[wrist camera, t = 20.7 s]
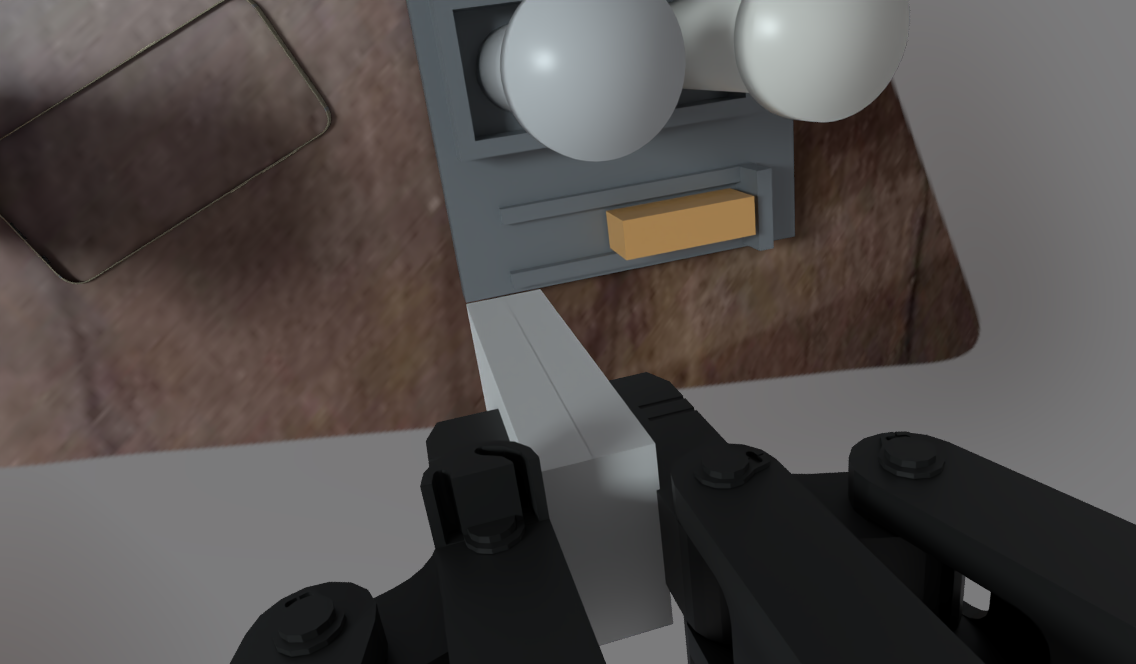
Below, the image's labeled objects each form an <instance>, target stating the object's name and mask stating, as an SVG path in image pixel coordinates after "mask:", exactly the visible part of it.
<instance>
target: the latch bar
mask: <svg viewBox="0 0 1136 664" xmlns="http://www.w3.org/2000/svg"><path fill="white" fill-rule="evenodd" d="M606 216H607V225H608V234H609V243H610V248H611V249H612V250H614V251H615V252H616V253H618V254H619V255H620V256H621V257H623V258H624V259H625V260H631V259H636V258H641V257H646V256H651V255H656V254H661V253H666V252H671V251H676V250H681V249H686V248H691V247H696V246H701V245H706V244H711V243H716V242H721V241H726V240H732V239H737V238H742V237H747V236H752V235H756V231H755V203H754V196H752V195H749V194H746V193H743V192H740V191H737V190H734V189H731V188H727V189H722V190H716V191H711V192H705V193H700V194H695V195H689V196H684V197H678V198H673V199H668V200H662V201H657V202H651V203H646V204H641V205H635V206H630V207H624V208H619V209H614V210H608V211H606Z"/></svg>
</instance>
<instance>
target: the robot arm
mask: <svg viewBox="0 0 1136 664" xmlns="http://www.w3.org/2000/svg"><path fill="white" fill-rule="evenodd" d="M466 306H467V311H468V316H469V321H470V326H471V331H472V337H473V342H474V347H475V352H476V357H477V362H478V368H479V373H480V378H481V383H482V388H483V393H484V398H485V404H486V409H487V411H485V412H481V413H477V414H472V415H468V416H464V417H459V418H455V419H451V420H446V421H442V422H438V423H436V425H435V427H434V428H433V430H432V432H431V433H430V435H429V437H428V438H427V440H426V446H427V453H428V460H429V468H428V469H427V470H426V471H425V472H424V473H423V477H422V481H421V486H420V487H421V492H422V496H423V500H424V504H425V508H426V512H427V516H428V520H429V525H430V528H431V533H432V537H433V541H434V545H435V550H434V553H433V555H432V556H431V558H430V559H429V560H428V562H427V563H426V564H425V565H424V567H423V568H422V569H420V570H419V571H418V572H417V573H416V574H414V575H413V576H412V577H411V578H410V579H408V580H406V581H405V582H403V583H401V584H400V585H398V586H396V587H395V588H393V589H391V590H389V591H387V592H385V593H384V594H381V595H379V596H377V597H375V598H373V597H372V596H371V594H370V592H369V591H368V590H367V589H365V588H363V587H360V586H358V585H356V584H354V583H351V582H350V583H349V582H348V583H347V582H327V583H323V584H319V585H314V586H310V587H306V588H304V589H302V590H299V591H298V592H296V593H293V594H291V595H289V596H287V597H285V598H283V599H281V600H280V601H278V602H277V603H276V604H274V605H273V606H272V607H271V608H269V609H268V610H267V611H265V612H264V613H263V614H262V615H260V616H259V618H258V619H257V620H256V622H255V623H254V624H253V625H252V627H251V628H250V629H249V631H248V632H247V633H246V635H245V636H244V638H243V640H242V642H241V644H240V646H239V647H238V649H237V651H236V653H235V655H234V657H233V659H232V661H231V662H230V664H606V662H605V660H604V657H603V654H602V652H601V650H600V647H599V646H601V645H604V644H607V643H611V642H614V641H617V640H620V639H623V638H627V637H631V636H634V635H637V634H641V633H644V632H647V631H651V630H654V629H657V628H661V627H664V626H668V625H671V624H673V617H672V607H671V597H670V592H671V594H672V595H673V597H674V599H675V601H676V602H677V604H678V606H679V608H680V610H681V611H682V613H683V615H684V624H685V635H686V645H687V657H688V664H1136V525H1135V524H1133V523H1131V522H1128V521H1126V520H1124V519H1122V518H1119V517H1117V516H1115V515H1113V514H1110V513H1108V512H1106V511H1103V510H1101V509H1099V508H1096V507H1094V506H1092V505H1090V504H1088V503H1085V502H1083V501H1081V500H1079V499H1076V498H1074V497H1072V496H1070V495H1067V494H1065V493H1063V492H1060V491H1058V490H1056V489H1054V488H1051V487H1049V486H1047V485H1044V484H1042V483H1040V482H1038V481H1036V480H1033V479H1031V478H1029V477H1026V476H1024V475H1022V474H1020V473H1017V472H1015V471H1012V470H1011V469H1008V468H1006V467H1004V466H1002V465H999V464H997V463H995V462H992V461H990V460H988V459H986V458H983V457H981V456H979V455H977V454H974V453H972V452H970V451H968V450H965V449H963V448H961V447H959V446H956V445H954V444H952V443H950V442H947V441H943V440H941V439H938V438H935V437H931V436H928V435H922V434H915V433H910V432H895V433H893V432H888V433H881V434H877V435H874V436H871V437H867V438H864V439H863V440H861V441H860V442H858V443H857V444H856V445H854V446H853V447H852V449H851V453H850V455H849V470H848V471H849V472H838V473H819V474H791V473H790V472H789V471H788V470H787V469H786V468H784V466H783V465H782V464H781V463H780V462H779V461H777V459H775V458H774V457H772V456H771V455H769V454H768V453H766V452H764V451H763V450H761V449H757V448H754V447H750V446H747V445H742V444H728V443H727V442H726V441H725V440H724V439H723V438H722V437H721V436H720V435H719V434H718V432H717V431H716V430H715V429H714V428H713V427H712V426H711V425H710V424H709V423H708V422H707V421H706V420H705V419H704V418H703V417H702V416H701V414H700V413H698V411H697V410H694V407H693V406H692V405H691V404H690V403H689V402H688V401H687V400H686V399H684V398H683V395H682V394H681V393H680V392H679V391H678V390H677V389H676V388H675V387H674V386H673V385H672V384H671V383H670V382H669V381H667V380H664V379H662V378H660V377H657V376H655V375H652V374H650V373H647V372H645V373H640V374H636V375H632V376H627V377H623V378H619V379H614V380H610V381H608V379H607V378H606V377H605V375H604V374H603V373H602V371H601V370H600V369H599V367H598V366H597V365H596V363H595V362H594V361H593V359H592V358H591V357H590V355H589V354H588V353H587V351H586V350H585V349H584V347H583V346H582V345H581V343H580V342H579V341H578V339H577V338H576V337H575V335H574V334H573V333H572V331H571V330H570V329H569V327H568V326H567V325H566V323H565V322H564V320H563V319H562V318H561V316H560V315H559V314H558V312H557V311H556V310H555V308H554V307H553V306H552V304H551V303H550V302H549V300H548V299H547V298H546V296H545V295H544V294H543V292H542V291H541V290H540V289H539V290H534V291H529V292H524V293H519V294H514V295H509V296H504V297H499V298H494V299H489V300H484V301H479V302H475V303H470V304H466ZM965 577H967V578H969V579H970V580H972V581H974V582H975V583H977V584H979V585H980V586H982V587H984V588H985V589H987V590H989V591H990V592H991V596H990V605H989V610H988V611H983V610H980V609H978V608H975V607H973V606H971V605H969V604H968V603H967V602H965V601H963V596H964V585H965Z"/></svg>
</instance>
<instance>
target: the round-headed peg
mask: <svg viewBox="0 0 1136 664" xmlns="http://www.w3.org/2000/svg"><path fill="white" fill-rule="evenodd" d="M668 4H669V5H670V7H671V8H672V10H673V12H674V14H675V16H676V18H677V21H678V23H679V26H680V29H681V32H682V36H683V40H684V47H685V60H686V67H685V77H684V83H683V87H682V89H695V90H712V91H729V92H746V93H750V94H751V96H752V97H753V98H754V99H755V100H756V101H757V102H758V103H759V104H760V105H761V106H762V107H764V108H765V109H766V110H768V111H770V112H771V113H773V114H775V115H778V116H781V117H784V118H788V119H794V120H802V121H811V122H832V121H837V120H841V119H844V118H847V117H849V116H852V115H854V114H855V113H857V112H859V111H861V110H862V109H864V108H865V107H866V106H868V105H869V104H870V103H871V102H873V101H874V100H875V99H876V98H877V97H878V96H879V95H880V94H881V92H882V91H883V90H884V89H885V88H886V86H887V85H888V84H889V82H890V81H891V79H892V78H893V76H894V74H895V72H896V70H897V69H898V67H899V64H900V62H901V59H902V57H903V54H904V51H905V48H906V44H907V39H908V35H909V26H910V6H909V0H675V1H671V2H668Z"/></svg>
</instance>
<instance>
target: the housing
mask: <svg viewBox="0 0 1136 664" xmlns="http://www.w3.org/2000/svg"><path fill="white" fill-rule="evenodd" d="M671 1H675V0H406V3H407V8H408V13H409V18H410V23H411V28H412V34H413V39H414V44H415V49H416V54H417V59H418V64H419V70H420V75H421V80H422V85H423V90H424V95H425V100H426V106H427V111H428V116H429V121H430V126H431V131H432V136H433V142H434V147H435V152H436V157H437V162H438V167H439V172H440V178H441V183H442V188H443V193H444V198H445V203H446V208H447V214H448V219H449V224H450V229H451V234H452V239H453V244H454V250H455V255H456V260H457V265H458V270H459V275H460V280H461V286H462V291H463V295H464V298H465V300H466V302H471V301H476V300H481V299H486V298H491V297H496V296H501V295H506V294H511V293H516V292H521V291H526V290H531V289H536V288H541V287H546V286H551V285H556V284H561V283H566V282H571V281H576V280H580V279H585V278H590V277H595V276H600V275H605V274H610V273H615V272H620V271H625V270H630V269H635V268H640V267H645V266H650V265H655V264H660V263H665V262H670V261H675V260H680V259H685V258H690V257H694V256H699V255H704V254H709V253H714V252H719V251H724V250H729V249H734V248H739V247H744V246H751V247H753V248H755V249H757V250H759V251H761V250H766V249H771V248H774V246H773V241H774V240H779V239H784V238H789V237H794V236H795V208H794V143H793V119H788V118H784V117H781V116H778V115H775V114H773V113H771V112H770V111H768V110H766V109H765V108H764V107H762V106H761V105H760V104H759V103H758V102H757V101H756V100H755V99H754V98H753V97H752V96H751V94H750V93H746V92H729V91H712V90H695V89H682V87H683V83H684V77H685V67H686V60H685V47H684V40H683V36H682V32H681V29H680V26H679V23H678V21H677V18H676V16H675V14H674V12H673V10H672V8H671V7H670V5H669V4H668V2H671ZM727 188H731V189H734V190H737V191H740V192H743V193H746V194H749V195H752V196H754V203H755V231H756V235H752V236H747V237H742V238H737V239H732V240H726V241H721V242H716V243H711V244H706V245H701V246H696V247H691V248H686V249H681V250H676V251H671V252H666V253H661V254H656V255H651V256H646V257H641V258H636V259H631V260H625V259H624V258H623V257H621V256H620V255H619V254H618V253H616V252H615V251H614V250H612V249H611V248H610V243H609V234H608V225H607V216H606V211H608V210H614V209H619V208H624V207H630V206H635V205H641V204H646V203H651V202H657V201H662V200H668V199H673V198H678V197H684V196H689V195H695V194H700V193H705V192H711V191H716V190H722V189H727Z"/></svg>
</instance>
